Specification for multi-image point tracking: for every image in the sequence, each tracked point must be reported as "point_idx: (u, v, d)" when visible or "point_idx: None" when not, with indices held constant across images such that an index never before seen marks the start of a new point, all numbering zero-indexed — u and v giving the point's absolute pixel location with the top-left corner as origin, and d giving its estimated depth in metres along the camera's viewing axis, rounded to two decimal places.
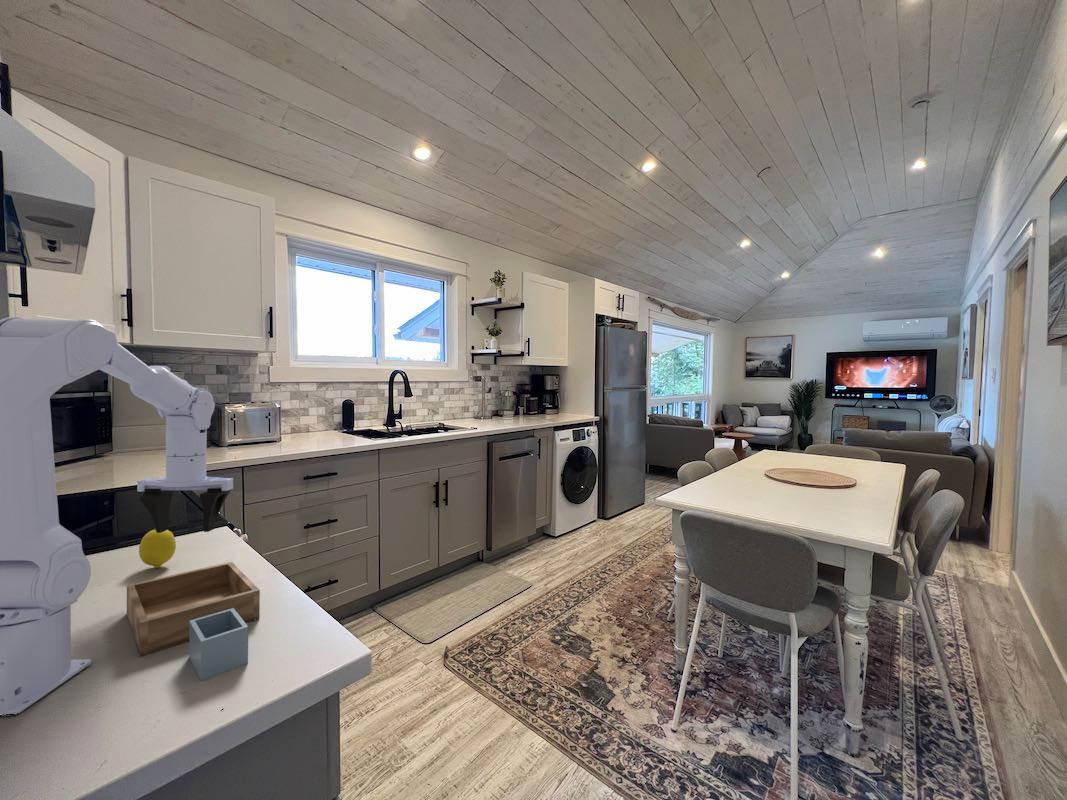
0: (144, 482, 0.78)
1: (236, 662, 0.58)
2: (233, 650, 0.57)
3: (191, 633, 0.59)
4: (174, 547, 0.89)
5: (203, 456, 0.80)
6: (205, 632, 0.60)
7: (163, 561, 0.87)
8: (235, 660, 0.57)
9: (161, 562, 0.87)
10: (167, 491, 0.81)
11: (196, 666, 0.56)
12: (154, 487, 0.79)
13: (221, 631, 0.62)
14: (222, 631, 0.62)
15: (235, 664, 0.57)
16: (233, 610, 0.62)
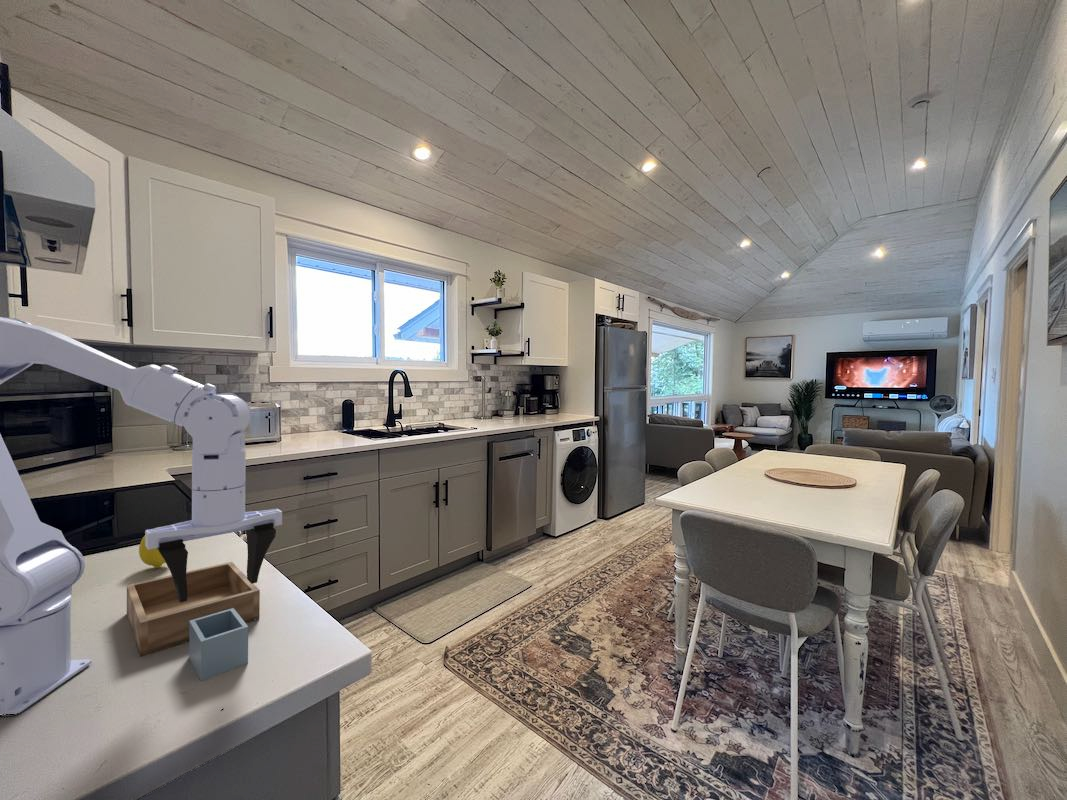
0: (161, 534, 0.54)
1: (236, 662, 0.58)
2: (233, 650, 0.57)
3: (191, 633, 0.59)
4: None
5: (244, 485, 0.61)
6: (205, 632, 0.60)
7: (163, 561, 0.87)
8: (235, 660, 0.57)
9: (161, 562, 0.87)
10: None
11: (196, 666, 0.56)
12: (171, 539, 0.55)
13: (221, 631, 0.62)
14: (222, 631, 0.62)
15: (235, 664, 0.57)
16: (233, 610, 0.62)
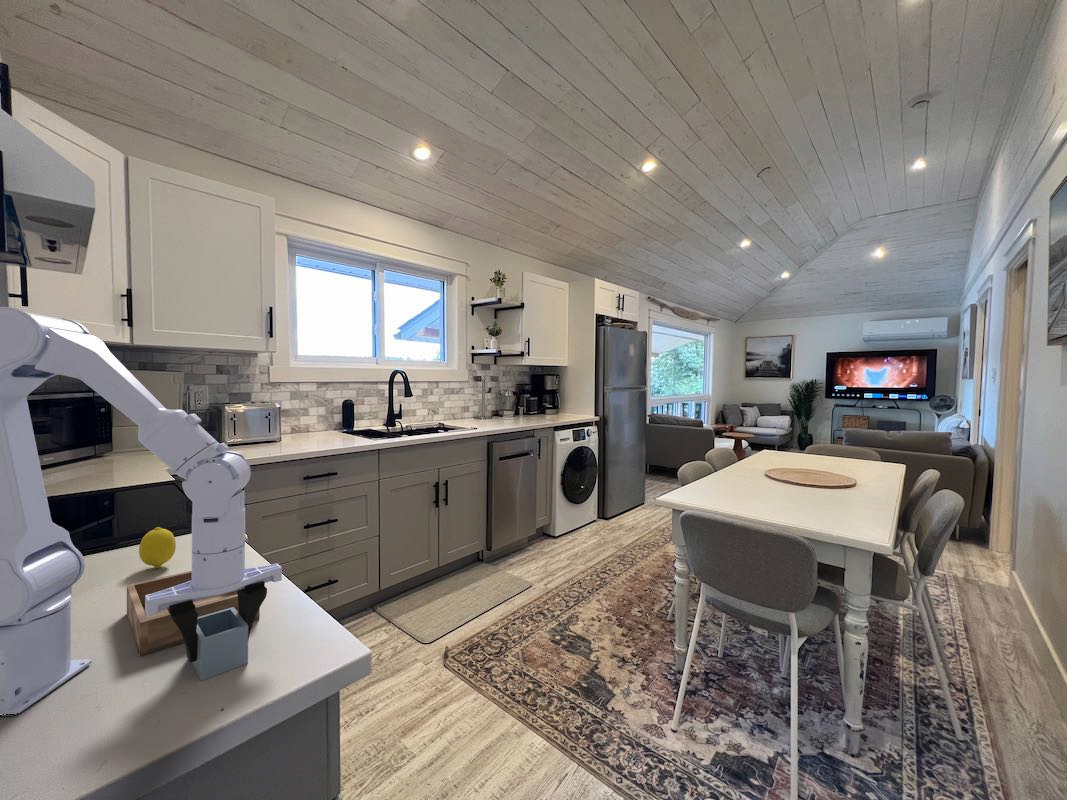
0: (161, 599, 0.54)
1: (236, 661, 0.58)
2: (233, 649, 0.57)
3: None
4: (174, 547, 0.89)
5: (244, 544, 0.61)
6: (205, 631, 0.60)
7: (163, 561, 0.87)
8: (235, 659, 0.57)
9: (161, 562, 0.87)
10: None
11: (196, 665, 0.57)
12: (171, 603, 0.55)
13: (221, 630, 0.62)
14: (222, 630, 0.62)
15: (235, 663, 0.57)
16: (233, 609, 0.62)
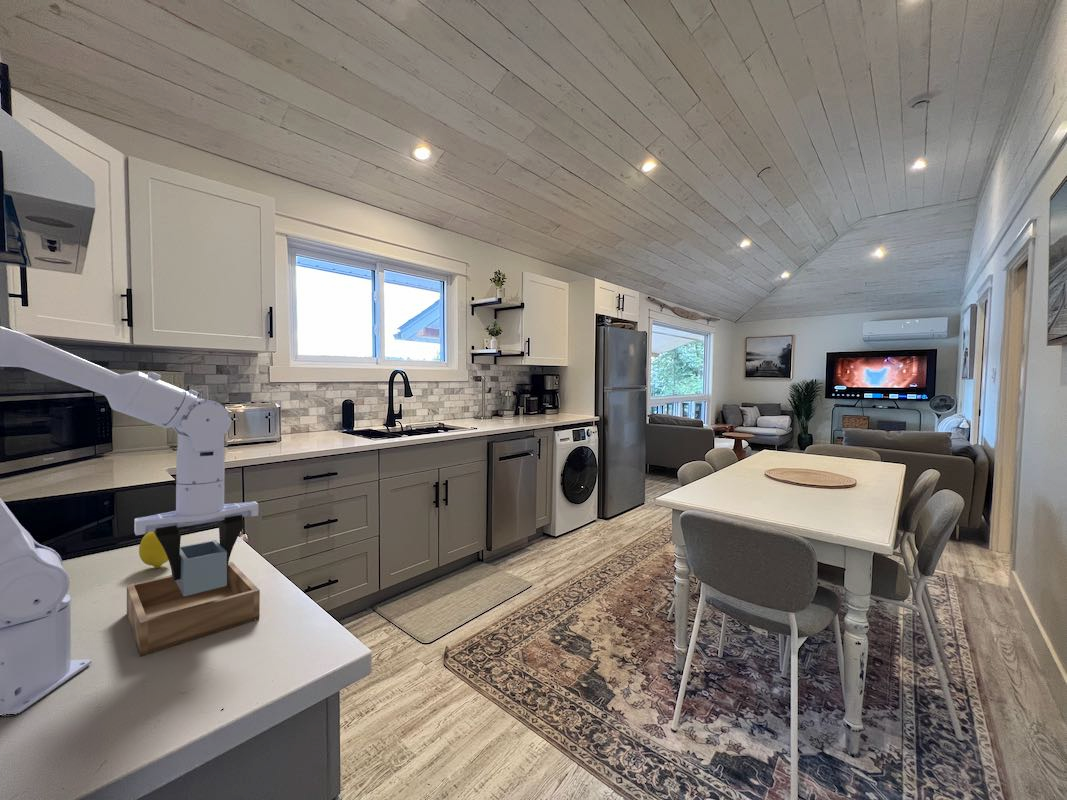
0: (148, 522, 0.61)
1: (216, 582, 0.65)
2: (213, 571, 0.64)
3: None
4: None
5: None
6: None
7: (163, 561, 0.87)
8: (215, 580, 0.64)
9: (161, 562, 0.87)
10: None
11: (180, 584, 0.64)
12: (157, 526, 0.62)
13: None
14: None
15: (215, 584, 0.64)
16: (215, 541, 0.70)
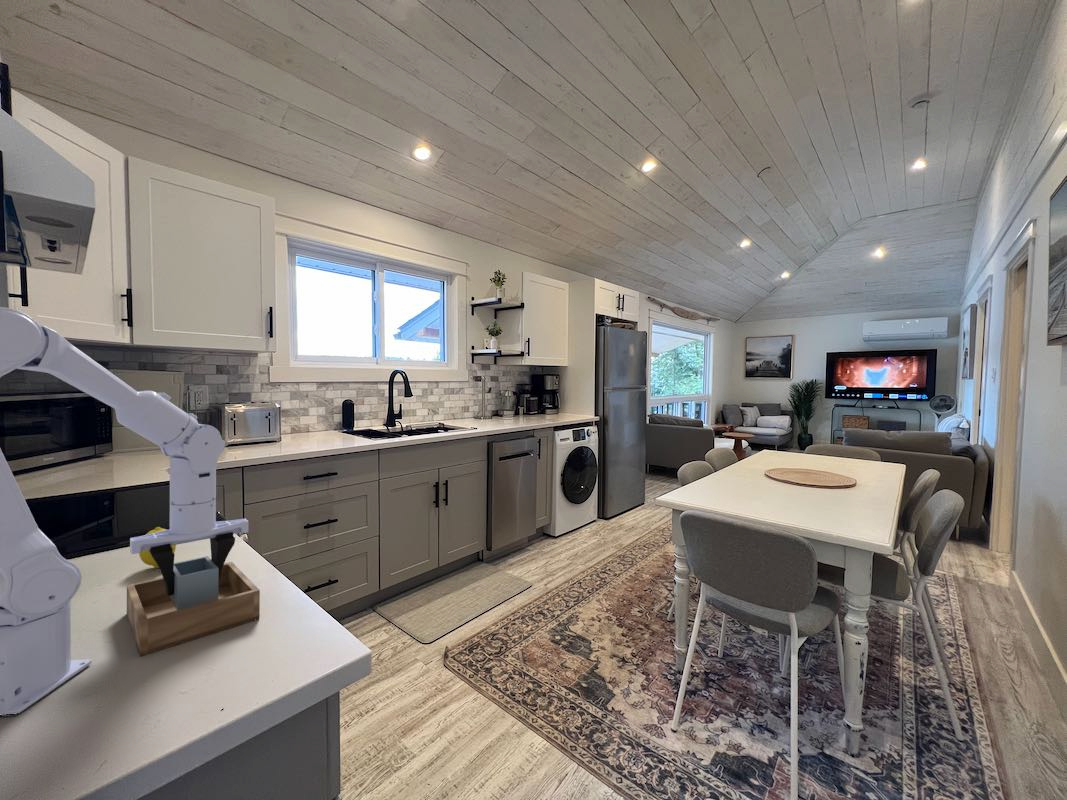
0: (143, 541, 0.65)
1: (208, 597, 0.68)
2: (206, 587, 0.68)
3: None
4: (174, 547, 0.89)
5: (215, 499, 0.72)
6: (183, 574, 0.71)
7: None
8: (207, 595, 0.68)
9: None
10: None
11: (174, 600, 0.67)
12: (151, 545, 0.66)
13: None
14: None
15: (207, 599, 0.68)
16: (207, 557, 0.73)
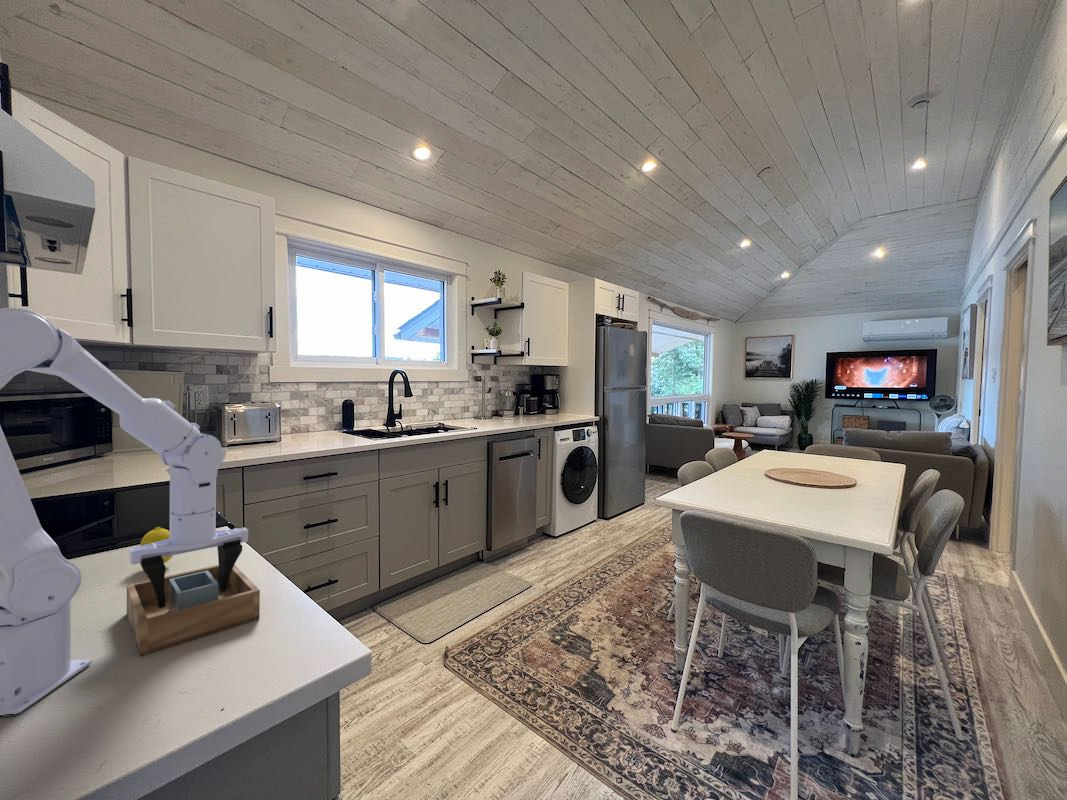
0: (143, 551, 0.65)
1: None
2: (205, 602, 0.68)
3: (170, 589, 0.69)
4: None
5: None
6: (183, 589, 0.71)
7: None
8: None
9: None
10: None
11: None
12: (151, 555, 0.66)
13: None
14: None
15: None
16: (207, 572, 0.73)
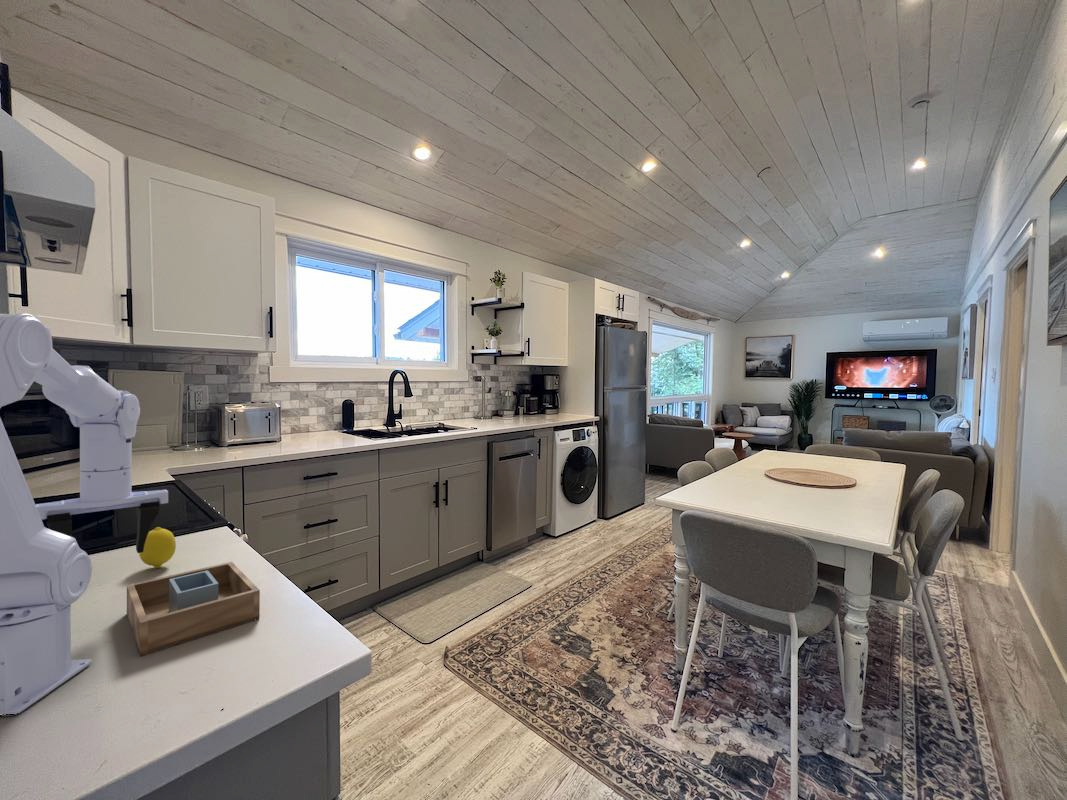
0: (48, 507, 0.63)
1: None
2: (205, 602, 0.68)
3: (170, 589, 0.69)
4: (174, 547, 0.89)
5: (131, 468, 0.70)
6: (183, 589, 0.71)
7: (163, 561, 0.87)
8: None
9: (161, 562, 0.87)
10: (71, 516, 0.67)
11: None
12: (59, 512, 0.65)
13: None
14: None
15: None
16: (207, 572, 0.73)
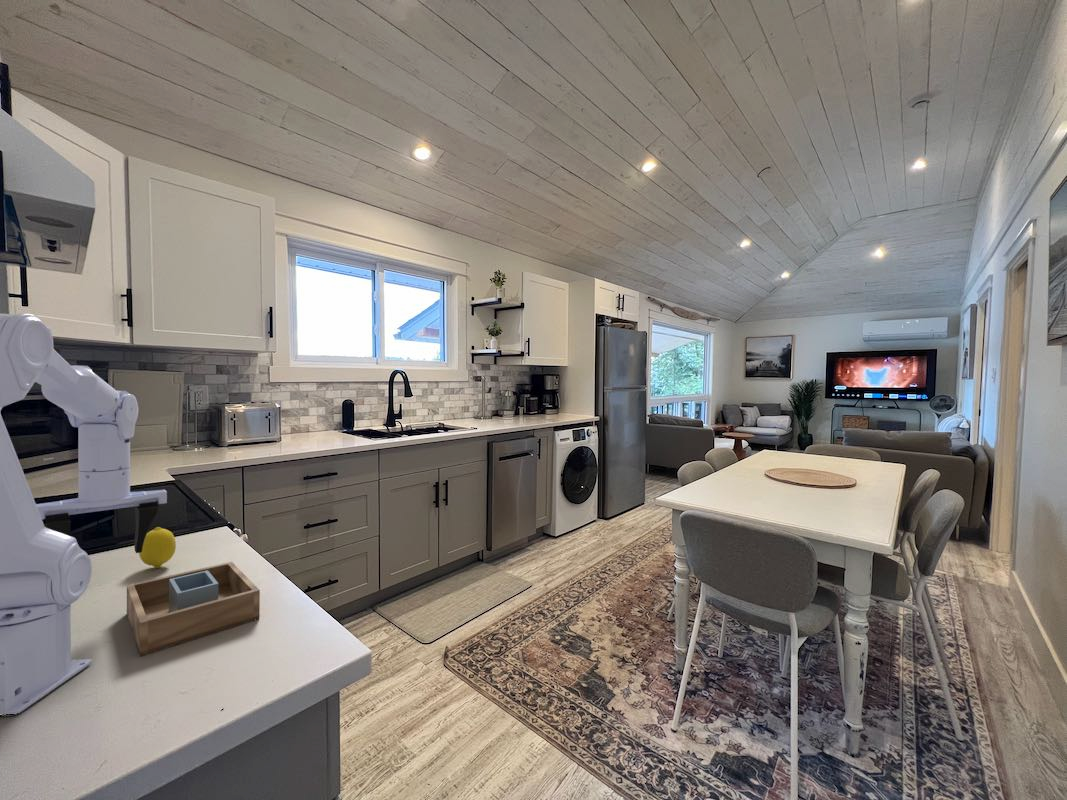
0: (46, 507, 0.63)
1: None
2: (205, 602, 0.68)
3: (170, 589, 0.69)
4: (174, 547, 0.89)
5: None
6: (183, 589, 0.71)
7: (163, 561, 0.87)
8: None
9: (161, 562, 0.87)
10: (69, 516, 0.67)
11: None
12: (57, 512, 0.65)
13: None
14: None
15: None
16: (207, 572, 0.73)
